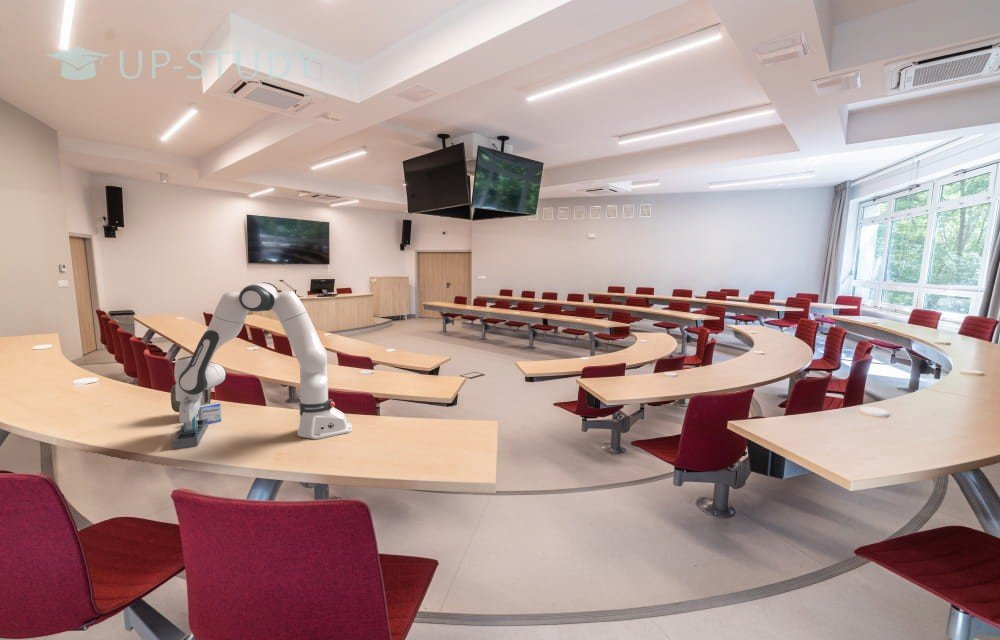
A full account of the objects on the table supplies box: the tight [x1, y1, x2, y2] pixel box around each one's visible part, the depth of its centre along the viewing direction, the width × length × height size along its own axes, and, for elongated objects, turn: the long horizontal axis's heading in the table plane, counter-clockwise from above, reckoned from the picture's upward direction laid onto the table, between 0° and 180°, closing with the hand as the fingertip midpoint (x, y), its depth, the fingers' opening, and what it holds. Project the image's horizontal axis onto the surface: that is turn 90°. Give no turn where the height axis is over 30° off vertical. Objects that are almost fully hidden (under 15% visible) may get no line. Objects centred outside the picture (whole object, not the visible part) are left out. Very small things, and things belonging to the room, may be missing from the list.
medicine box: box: [197, 401, 222, 425], centre depth 192 cm, size 8×4×9 cm, turn 143°
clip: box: [182, 412, 198, 432], centre depth 174 cm, size 4×4×8 cm
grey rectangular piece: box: [171, 419, 209, 450], centre depth 174 cm, size 8×24×4 cm, turn 27°
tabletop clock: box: [170, 383, 212, 413], centre depth 198 cm, size 14×9×25 cm, turn 179°
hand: (190, 426), depth 174 cm, fingers closed on clip, 4 cm apart
